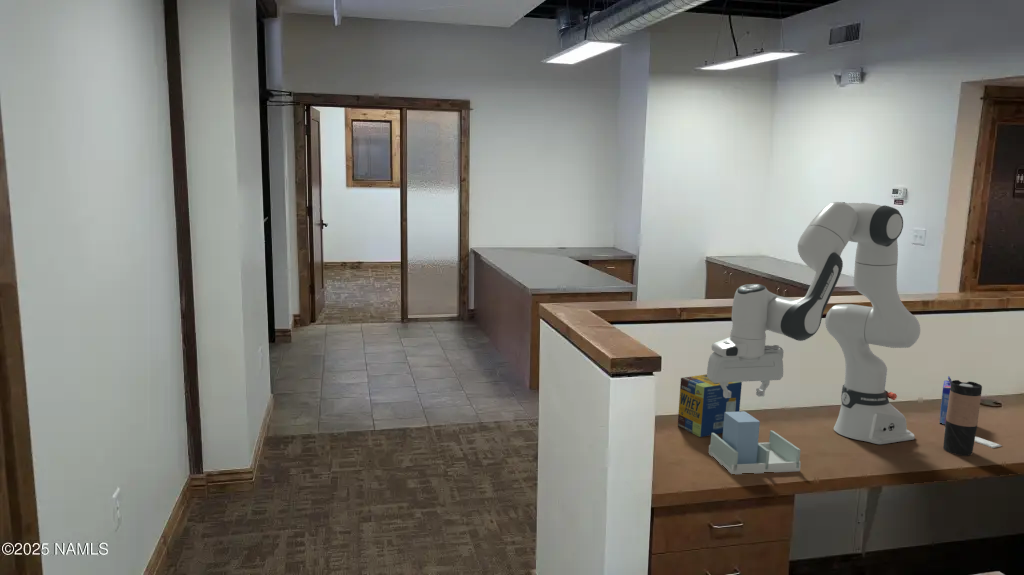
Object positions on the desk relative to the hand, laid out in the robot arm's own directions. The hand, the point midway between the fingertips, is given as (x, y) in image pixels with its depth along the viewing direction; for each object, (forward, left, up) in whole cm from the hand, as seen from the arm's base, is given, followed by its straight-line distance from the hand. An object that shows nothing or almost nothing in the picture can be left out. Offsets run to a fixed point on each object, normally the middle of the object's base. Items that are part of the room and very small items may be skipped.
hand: (743, 396), depth 191 cm
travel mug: (-68, -1, -19) cm, 71 cm away
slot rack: (-4, 0, -19) cm, 19 cm away
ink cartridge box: (-85, -24, -19) cm, 90 cm away
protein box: (-3, -26, -19) cm, 32 cm away
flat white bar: (-81, -9, -19) cm, 84 cm away
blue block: (0, 0, -18) cm, 18 cm away
